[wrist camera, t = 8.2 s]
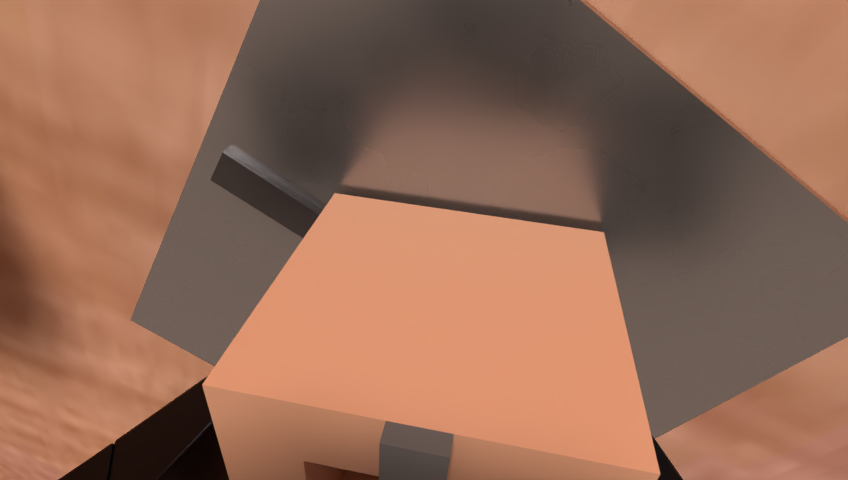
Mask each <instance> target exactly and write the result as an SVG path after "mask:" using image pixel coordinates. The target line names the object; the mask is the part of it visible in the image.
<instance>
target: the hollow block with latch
mask: <svg viewBox="0 0 848 480" xmlns="http://www.w3.org/2000/svg"><path fill="white" fill-rule="evenodd" d="M202 386H203V390H204V393H205V397H206V400H207V404H208V407H209V411H210V414H211V418H212V421H213V425H214V428H215V432H216V435H217V439H218V442H219V446H220V449H221V452H222V456H223V459H224V463H225V466H226V470H227V473H228V477H229V480H657V479H658V478H659V476H660V470H659V466H658V462H657V457H656V453H655V449H654V445H653V440H652V436H651V432H650V427H649V423H648V419H647V415H646V410H645V406H644V402H643V397H642V393H641V389H640V385H639V380H638V376H637V372H636V367H635V363H634V359H633V355H632V350H631V346H630V342H629V337H628V333H627V329H626V325H625V320H624V316H623V312H622V307H621V303H620V299H619V295H618V290H617V286H616V282H615V278H614V273H613V269H612V265H611V260H610V256H609V252H608V248H607V243H606V239H605V235H604V232H599V231H592V230H585V229H578V228H571V227H564V226H557V225H550V224H544V223H537V222H530V221H523V220H516V219H509V218H502V217H495V216H488V215H482V214H475V213H468V212H461V211H454V210H447V209H440V208H433V207H426V206H420V205H413V204H406V203H399V202H392V201H385V200H378V199H371V198H364V197H358V196H351V195H344V194H337V193H334V195H333V196H332V198H331V199H330V201H329V202H328V204H327V205H326V206H325V208H324V209H323V211H322V212H321V214H320V215H319V217H318V218H317V219H316V221H315V222H314V224H313V225H312V227H311V228H310V230H309V231H308V232H307V234H306V235H305V237H304V238H303V240H302V241H301V243H300V244H299V245H298V247H297V248H296V250H295V251H294V253H293V254H292V256H291V257H290V258H289V260H288V261H287V263H286V264H285V266H284V267H283V269H282V270H281V271H280V273H279V274H278V276H277V277H276V279H275V280H274V282H273V283H272V284H271V286H270V287H269V289H268V290H267V292H266V293H265V295H264V296H263V297H262V299H261V300H260V302H259V303H258V305H257V306H256V308H255V309H254V310H253V312H252V313H251V315H250V316H249V318H248V319H247V321H246V322H245V323H244V325H243V326H242V328H241V329H240V331H239V332H238V334H237V335H236V336H235V338H234V339H233V341H232V342H231V344H230V345H229V347H228V348H227V349H226V351H225V352H224V354H223V355H222V357H221V358H220V360H219V361H218V362H217V364H216V365H215V367H214V368H213V370H212V371H211V373H210V374H209V375H208V377H207V378H206V380H205V381H204V383H203V384H202Z"/></svg>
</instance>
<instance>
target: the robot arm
mask: <svg viewBox="0 0 848 480" xmlns="http://www.w3.org/2000/svg"><path fill="white" fill-rule="evenodd" d="M207 377H208V376H207ZM207 377H206V378H207ZM206 378H204V379H203V380H201V381H200V382H198V383H197V384H196V385H194V386H193V387H191V388H190V389H188V390H187V391H186V392H184V393H183V394H181V395H180V396H179V397H177V398H176V399H174V400H173V401H171V402H170V403H169V404H167V405H166V406H164V407H163V408H161V409H160V410H159V411H157V412H156V413H154V414H153V415H151V416H150V417H149V418H147V419H146V420H144V421H143V422H141V423H140V424H139V425H137V426H136V427H134V428H133V429H131V430H130V431H129V432H127V433H126V434H124V435H123V436H121V437H120V438H119V439H117V440H116V441H115V444H110V445H108V446H107V447H106V448H104V449H103V450H101V451H100V452H98V453H97V454H96V455H94V456H93V457H91V458H90V459H88V460H87V461H85V462H84V463H82V464H81V465H79V466H78V467H76V468H75V469H73V470H72V471H70V472H69V473H67V474H66V475H65V476H63V477H62V478H60V479H58V480H229V477H228V473H227V470H226V466H225V463H224V459H223V456H222V452H221V449H220V446H219V442H218V439H217V435H216V432H215V428H214V425H213V421H212V418H211V414H210V411H209V407H208V404H207V400H206V397H205V393H204V390H203V386H202V384H203V383H204V381H205V380H206ZM651 436H652V434H651ZM652 440H653V445H654V449H655V453H656V457H657V462H658V466H659V470H660V476H659V478H658V479H657V480H683V479H682V477H681V476H680V475H679V473H678V472H677V470H676V469H675V467H674V466H673V465H672V463H671V462H670V460H669V459H668V457H667V456H666V455H665V453H664V452H663V450H662V449H661V447H660V446H659V444H658V443H657V442H656V440H655V439H654V437H653V436H652Z"/></svg>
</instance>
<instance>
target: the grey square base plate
mask: <svg viewBox="0 0 848 480" xmlns="http://www.w3.org/2000/svg"><path fill="white" fill-rule="evenodd" d="M334 193H337V194H344V195H351V196H358V197H364V198H371V199H378V200H385V201H392V202H399V203H406V204H413V205H420V206H426V207H433V208H440V209H447V210H454V211H461V212H468V213H475V214H482V215H488V216H495V217H502V218H509V219H516V220H523V221H530V222H537V223H544V224H550V225H557V226H564V227H571V228H578V229H585V230H592V231H599V232H604V235H605V239H606V243H607V248H608V252H609V256H610V260H611V265H612V269H613V273H614V278H615V282H616V286H617V290H618V295H619V299H620V303H621V307H622V312H623V316H624V320H625V325H626V329H627V333H628V337H629V342H630V346H631V350H632V355H633V359H634V363H635V367H636V372H637V376H638V380H639V385H640V389H641V393H642V397H643V402H644V406H645V410H646V415H647V419H648V423H649V427H650V432H651V434H652V436H653V437H654V439H655V438H657V437H659V436H660V435H662V434H664V433H666V432H668V431H670V430H672V429H674V428H676V427H678V426H679V425H681V424H683V423H685V422H687V421H689V420H691V419H693V418H695V417H697V416H698V415H700V414H702V413H704V412H706V411H708V410H710V409H712V408H714V407H716V406H717V405H719V404H721V403H723V402H725V401H727V400H729V399H731V398H733V397H735V396H736V395H738V394H740V393H742V392H744V391H746V390H748V389H750V388H752V387H753V386H755V385H757V384H759V383H761V382H763V381H765V380H767V379H769V378H771V377H772V376H774V375H776V374H778V373H780V372H782V371H784V370H786V369H788V368H790V367H791V366H793V365H795V364H797V363H799V362H801V361H803V360H805V359H807V358H809V357H810V356H812V355H814V354H816V353H818V352H820V351H822V350H824V349H826V348H827V347H829V346H831V345H833V344H835V343H837V342H839V341H841V340H843V339H845V338H846V337H848V219H847V218H846V217H845V216H843V215H842V214H841V213H840V212H839V211H837V210H836V209H835V208H834V207H833V206H831V205H830V204H829V203H828V202H827V201H825V200H824V199H823V198H822V197H821V196H819V195H818V194H817V193H816V192H815V191H813V190H812V189H811V188H810V187H809V186H807V185H806V184H805V183H804V182H803V181H801V180H800V179H799V178H798V177H797V176H795V175H794V174H793V173H792V172H791V171H789V170H788V169H787V168H786V167H785V166H783V165H782V164H781V163H780V162H779V161H777V160H776V159H775V158H774V157H773V156H771V155H770V154H769V153H768V152H767V151H765V150H764V149H763V148H762V147H761V146H759V145H758V144H757V143H756V142H755V141H753V140H752V139H751V138H750V137H749V136H747V135H746V134H745V133H744V132H743V131H741V130H740V129H739V128H738V127H737V126H736V125H734V124H733V123H732V122H731V121H730V120H728V119H727V118H726V117H725V116H724V115H722V114H721V113H720V112H719V111H718V110H716V109H715V108H714V107H713V106H712V105H710V104H709V103H708V102H707V101H706V100H704V99H703V98H702V97H701V96H700V95H698V94H697V93H696V92H695V91H694V90H692V89H691V88H690V87H689V86H688V85H686V84H685V83H684V82H683V81H682V80H680V79H679V78H678V77H677V76H676V75H674V74H673V73H672V72H671V71H670V70H668V69H667V68H666V67H665V66H664V65H662V64H661V63H660V62H659V61H658V60H656V59H655V58H654V57H653V56H652V55H650V54H649V53H648V52H647V51H646V50H644V49H643V48H642V47H641V46H640V45H638V44H637V43H636V42H635V41H634V40H632V39H631V38H630V37H629V36H628V35H626V34H625V33H624V32H623V31H622V30H620V29H619V28H618V27H617V26H616V25H614V24H613V23H612V22H611V21H610V20H608V19H607V18H606V17H605V16H604V15H602V14H601V13H600V12H599V11H598V10H596V9H595V8H594V7H593V6H592V5H590V4H589V3H588V2H587V1H586V0H260V2H259V4H258V7H257V9H256V12H255V14H254V17H253V19H252V21H251V24H250V26H249V29H248V31H247V34H246V36H245V39H244V41H243V44H242V46H241V49H240V51H239V53H238V56H237V58H236V61H235V63H234V66H233V68H232V71H231V73H230V76H229V78H228V81H227V83H226V86H225V88H224V90H223V93H222V95H221V98H220V100H219V103H218V105H217V108H216V110H215V113H214V115H213V118H212V120H211V123H210V125H209V127H208V130H207V132H206V135H205V137H204V140H203V142H202V145H201V147H200V150H199V152H198V155H197V157H196V159H195V162H194V164H193V167H192V169H191V172H190V174H189V177H188V179H187V182H186V184H185V187H184V189H183V192H182V194H181V196H180V199H179V201H178V204H177V206H176V209H175V211H174V214H173V216H172V219H171V221H170V224H169V226H168V228H167V231H166V233H165V236H164V238H163V241H162V243H161V246H160V248H159V251H158V253H157V256H156V258H155V261H154V263H153V265H152V268H151V270H150V273H149V275H148V278H147V280H146V283H145V285H144V288H143V290H142V293H141V295H140V298H139V300H138V302H137V305H136V307H135V310H134V312H133V315H132V317H131V321H133V322H135V323H137V324H139V325H141V326H142V327H144V328H146V329H148V330H150V331H151V332H153V333H155V334H157V335H159V336H161V337H162V338H164V339H166V340H168V341H170V342H171V343H173V344H175V345H177V346H179V347H180V348H182V349H184V350H186V351H188V352H190V353H191V354H193V355H195V356H197V357H199V358H200V359H202V360H204V361H206V362H208V363H210V364H211V365H213V366H215V365H216V364H217V362H218V361H219V360H220V358H221V357H222V355H223V354H224V352H225V351H226V349H227V348H228V347H229V345H230V344H231V342H232V341H233V339H234V338H235V336H236V335H237V334H238V332H239V331H240V329H241V328H242V326H243V325H244V323H245V322H246V321H247V319H248V318H249V316H250V315H251V313H252V312H253V310H254V309H255V308H256V306H257V305H258V303H259V302H260V300H261V299H262V297H263V296H264V295H265V293H266V292H267V290H268V289H269V287H270V286H271V284H272V283H273V282H274V280H275V279H276V277H277V276H278V274H279V273H280V271H281V270H282V269H283V267H284V266H285V264H286V263H287V261H288V260H289V258H290V257H291V256H292V254H293V253H294V251H295V250H296V248H297V247H298V245H299V244H300V243H301V241H302V240H303V238H304V237H305V235H306V234H307V232H308V231H309V230H310V228H311V227H312V225H313V224H314V222H315V221H316V219H317V218H318V217H319V215H320V214H321V212H322V211H323V209H324V208H325V206H326V205H327V204H328V202H329V201H330V199H331V198H332V196H333V195H334Z"/></svg>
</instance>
